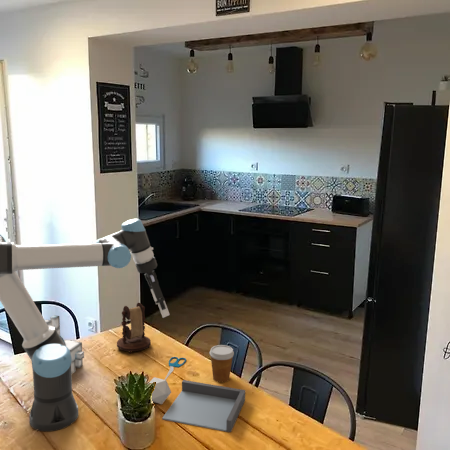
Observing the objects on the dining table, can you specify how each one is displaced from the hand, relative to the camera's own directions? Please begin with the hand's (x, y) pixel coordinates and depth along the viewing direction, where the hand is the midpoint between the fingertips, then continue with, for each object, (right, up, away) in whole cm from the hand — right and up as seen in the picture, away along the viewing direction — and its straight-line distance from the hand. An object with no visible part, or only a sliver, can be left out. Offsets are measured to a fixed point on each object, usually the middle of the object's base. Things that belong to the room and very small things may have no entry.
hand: (162, 309), depth 176 cm
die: (0, -30, -13) cm, 33 cm away
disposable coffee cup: (+22, -28, +4) cm, 36 cm away
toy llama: (-41, -25, +10) cm, 49 cm away
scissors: (+2, -27, +10) cm, 29 cm away
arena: (+17, -31, -18) cm, 40 cm away
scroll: (-17, -23, +30) cm, 41 cm away
